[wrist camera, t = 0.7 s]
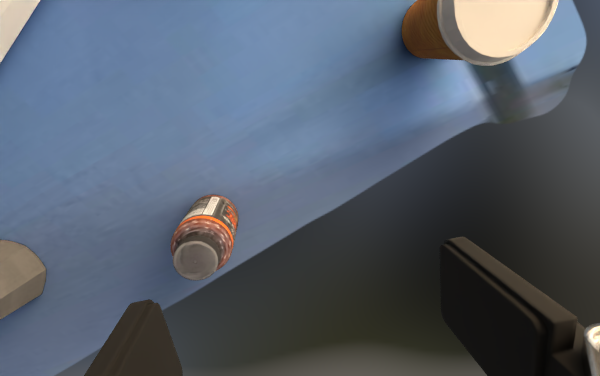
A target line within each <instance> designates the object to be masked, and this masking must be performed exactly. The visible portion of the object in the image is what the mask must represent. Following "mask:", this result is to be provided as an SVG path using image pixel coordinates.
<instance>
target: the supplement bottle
mask: <svg viewBox="0 0 600 376" xmlns="http://www.w3.org/2000/svg"><path fill="white" fill-rule="evenodd" d="M237 226H238V212H237V210H236V208H235V206H234V205H233V203H232V202H231V201H229V200H228V199H227V198H225V197H222V196H218V195H208V196H204V197H202V198H200V199H199V200H197V201H196V202H195V203H194V204H193V205H192V207H191V208H190V210H189V211H188V213H187V214H186V216H185V217H184V219H183V220H182V221H181V223H180V224H179V226H178V227H177V229H176V231H175V232H174V234H173V236H172V239H171V253H172V256H173V265H174V268H175V269H176V271H177V272H178V273H179V274H180V275H181V276H182V277H184V278H186V279H189V280H203V279H206V278H208V277H210V276H211V275H212V274H213V273H214V272H215V271H217V270H218V269H220V268H221V267H222V266H224V265H225V264H226V262H227V261H228V259H229V257H230V255H231V253H232V249H233V244H234V240H235V234H236V230H237Z"/></svg>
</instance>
